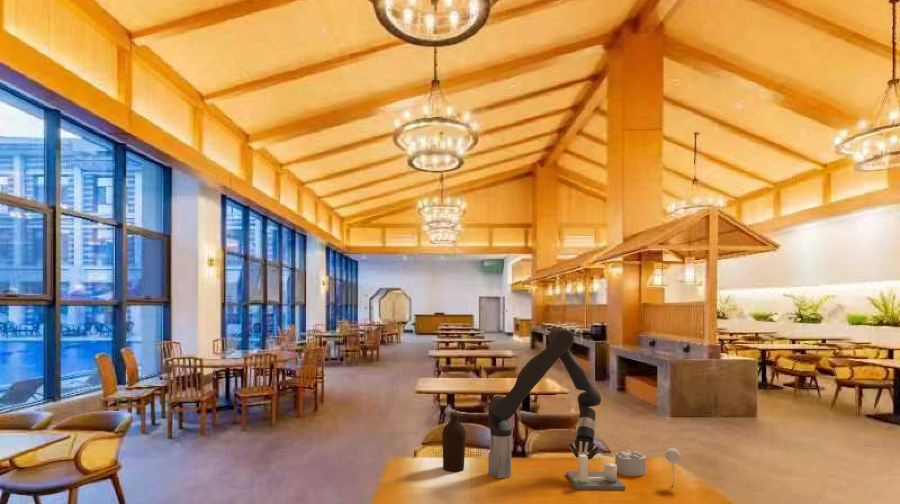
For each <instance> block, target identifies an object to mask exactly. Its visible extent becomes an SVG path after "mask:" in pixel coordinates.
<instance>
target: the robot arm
mask: <svg viewBox="0 0 900 504" xmlns="http://www.w3.org/2000/svg"><path fill="white" fill-rule="evenodd" d="M574 340H575V335H574V333H573V332H572V330H570V329H567V328H553V329H551V331H549V333H548V342H549V345H548V346H547V347H546V348H545V349H544V350H543V351H541V352H540V353H538V354H537V355H535V356H534V357H532V358H530V360H529V361H527V363H526V364H525V365H524V366H523V367H522V368H521V370H520V371H519V373H518V376H517V378H516V381H515V384H514V385H513V387H512V388H511V390H510V391H509V392H508V393H507V394H506V395H504V396H502V395H495V396H493V397H492V398H491V399H490V401H489V403H488V408H487V409H488V410H487V411H488V428H489V431H490V432H489V433H490V435H489V436H490V438H489V439H490V440H489V445H490V447H489V452H488V466H487V467H488V472H487V474H488V476H490V477H493V478H497V479H506V478H510V477H511V476H512V427H511V425H510V422H509V419H511V418H512V417H513V415H514V414H515V413H516V412H517V410H518V409H519V407H520V406H521V405H522V403H523V401H524V400H525V399H526V397H527V396H528V395H529V394H530V393H531V392H532V390H533V389H534V388H535V387H536V386H537V385H538V384H539V382H541V380H542V379H543V378H544V376H545V375H546V373H548V371H549V370H550V369H551V368H552V367H553V366H554V364H555V363H556V362H557V361H558V360H559V359H560V360H561V362H562V364H563V365H564V368H565V369H566V371H567V373H568V375H569V377H570V379H571V381H572V383H573V385H574V387H575V389H576V390H578V391H583V392H580V393H579V394H578V395H577V403H578V411H579V415H578V416H579V417H578V423H577V428H576V429H577V430H576V437H575V440H574V442H573V443H569V444H568V445H569V449H570V450H571V452H572V453H573V455H574V456H575V458H577V459H578V455H582V454H585V455H586V456H588V460H592V459H593V458H594V457H595V456H596V455H597V454H598V453H599V451H600V449H599V446H596V445H595V433H596V422H595V421H596V417H597V416H596V411H595V410H594V409H593V408H592V407H597V406H599V405H600V404H601V402H602V396H601V394H600V392H599V391H598V390H597V388H596V387H595V386H594V385H593V384H592V383H591V382H590V380H589V378H588V376H587V373H586V371H585V370H584V368H583V366H582V365H581V364H580V363H579V361H578V360H577V359H576V357H575V356H574V355H573V354H572V352H571V350H570V348H571V347H572V345H573V343H574V342H575V341H574ZM578 451H579V453H578Z"/></svg>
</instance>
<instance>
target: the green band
mask: <svg viewBox="0 0 900 504" xmlns="http://www.w3.org/2000/svg"><path fill="white" fill-rule="evenodd" d="M575 482H576V483H593V482H592V481H591V480H588V482H581V481H580V480H577V481H575Z"/></svg>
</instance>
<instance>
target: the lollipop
mask: <svg viewBox="0 0 900 504" xmlns="http://www.w3.org/2000/svg"><path fill="white" fill-rule="evenodd" d="M664 455H665V459H666V460H667V462H668V463H671V464H672V486H673V485H674V486H675V464H678V463H679V462H680V461H681V458H682V455H681V453H680V451H679V450H678V449H676V448H672V447H671V448H668V449H667V450H666V452H665V453H664Z"/></svg>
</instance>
